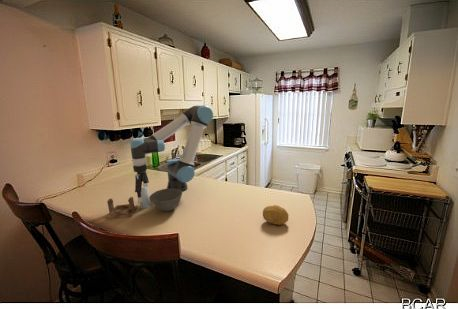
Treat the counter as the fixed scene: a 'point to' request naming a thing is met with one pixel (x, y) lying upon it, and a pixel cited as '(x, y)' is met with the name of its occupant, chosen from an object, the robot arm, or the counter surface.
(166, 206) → the bowl
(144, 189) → the roll
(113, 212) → the stand
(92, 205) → the counter surface
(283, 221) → the potato
